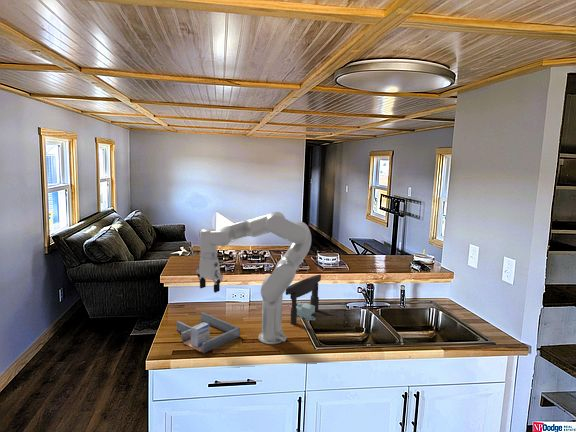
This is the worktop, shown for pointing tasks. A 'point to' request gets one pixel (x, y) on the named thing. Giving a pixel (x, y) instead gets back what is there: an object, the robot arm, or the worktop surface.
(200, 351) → the terracotta mat
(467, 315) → the worktop surface
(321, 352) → the worktop surface
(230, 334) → the bent rail channel
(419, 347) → the worktop surface
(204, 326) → the medicine box
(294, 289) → the stool
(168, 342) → the worktop surface
